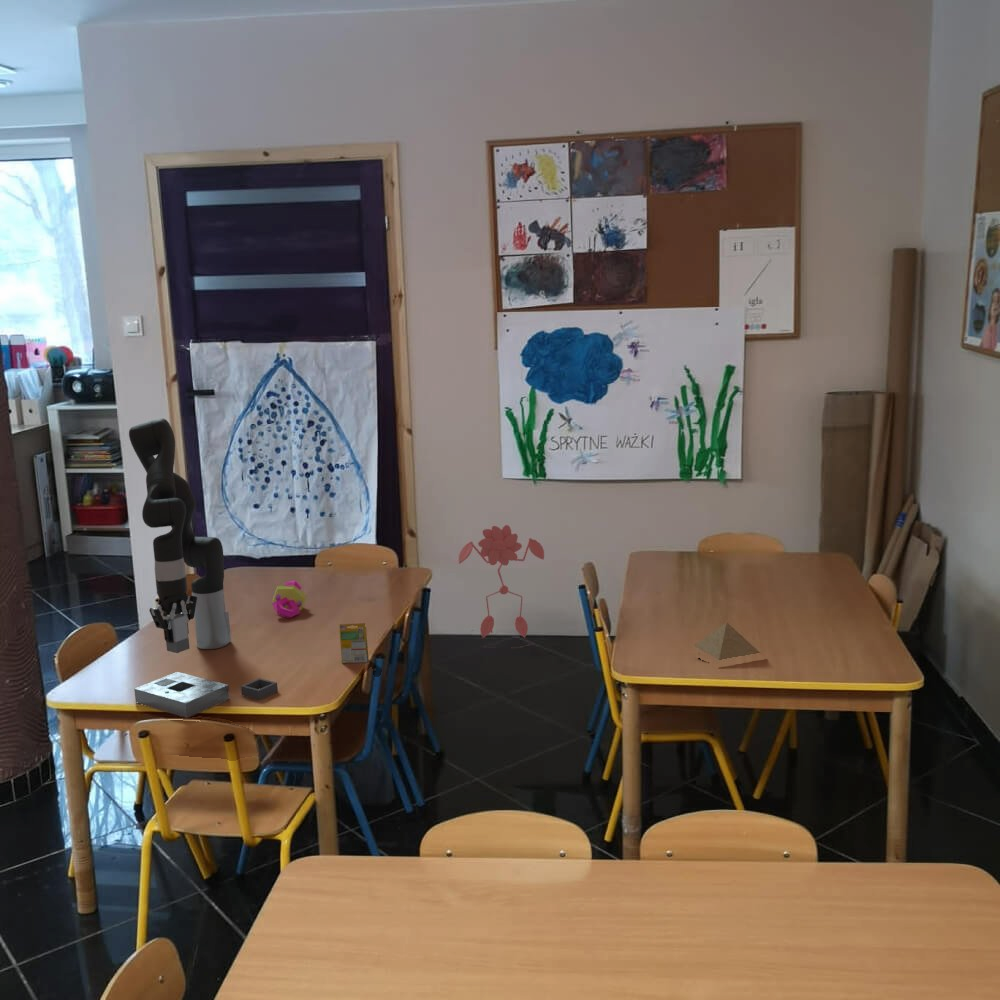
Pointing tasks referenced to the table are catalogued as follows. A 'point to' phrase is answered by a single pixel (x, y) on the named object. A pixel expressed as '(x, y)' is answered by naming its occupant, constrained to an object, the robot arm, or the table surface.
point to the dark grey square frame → (255, 692)
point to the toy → (288, 599)
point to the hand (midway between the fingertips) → (177, 639)
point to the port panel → (182, 694)
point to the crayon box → (353, 643)
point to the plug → (179, 634)
